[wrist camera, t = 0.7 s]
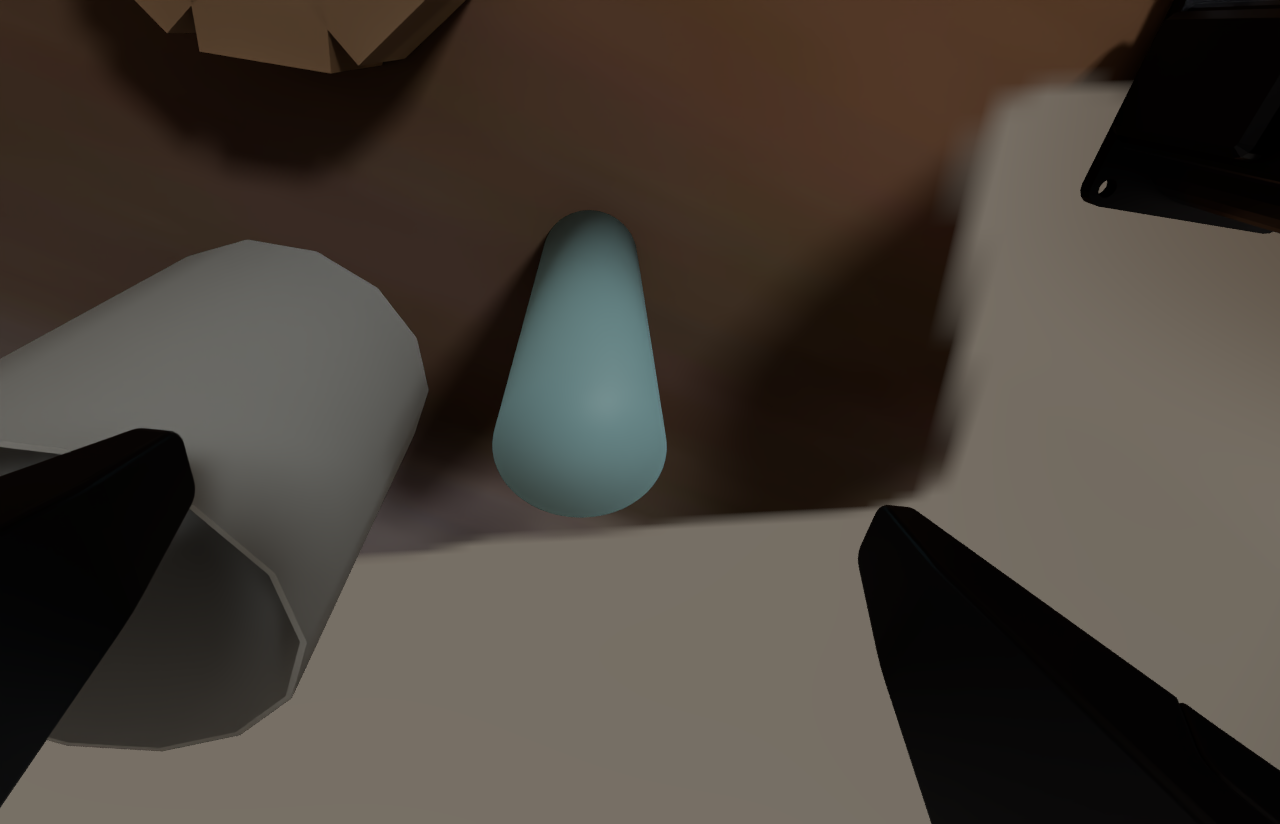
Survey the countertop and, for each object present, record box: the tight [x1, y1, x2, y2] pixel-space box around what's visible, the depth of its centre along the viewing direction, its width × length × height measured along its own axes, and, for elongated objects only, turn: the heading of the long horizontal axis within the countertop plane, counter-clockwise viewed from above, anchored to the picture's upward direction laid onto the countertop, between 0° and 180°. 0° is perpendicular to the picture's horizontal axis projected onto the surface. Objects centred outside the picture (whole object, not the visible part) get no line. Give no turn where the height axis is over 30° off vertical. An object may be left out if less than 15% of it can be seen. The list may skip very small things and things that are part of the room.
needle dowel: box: [492, 210, 667, 517], centre depth 14 cm, size 3×3×10 cm
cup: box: [0, 240, 429, 751], centre depth 16 cm, size 8×8×10 cm
